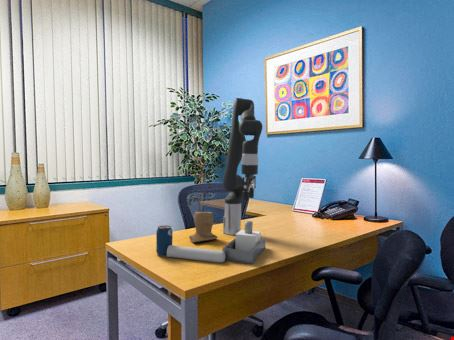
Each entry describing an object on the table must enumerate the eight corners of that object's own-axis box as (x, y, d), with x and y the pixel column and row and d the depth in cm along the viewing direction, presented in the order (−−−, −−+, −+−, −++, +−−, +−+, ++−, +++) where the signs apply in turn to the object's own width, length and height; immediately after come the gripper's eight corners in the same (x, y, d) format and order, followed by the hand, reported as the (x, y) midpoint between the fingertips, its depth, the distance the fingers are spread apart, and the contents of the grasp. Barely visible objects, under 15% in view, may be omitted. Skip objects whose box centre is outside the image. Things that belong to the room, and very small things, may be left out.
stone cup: (208, 235, 168) (208, 208, 167) (220, 240, 158) (221, 211, 158) (183, 239, 159) (183, 210, 158) (194, 245, 149) (195, 214, 149)
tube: (227, 251, 129) (172, 245, 135) (224, 250, 124) (167, 244, 130) (226, 264, 127) (170, 257, 133) (223, 264, 122) (165, 257, 128)
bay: (222, 260, 128) (222, 248, 128) (239, 244, 151) (239, 234, 151) (252, 264, 124) (252, 251, 124) (265, 247, 146) (265, 237, 146)
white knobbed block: (235, 249, 139) (235, 222, 139) (241, 244, 148) (241, 219, 147) (255, 251, 136) (256, 224, 135) (260, 246, 144) (261, 220, 144)
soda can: (175, 253, 135) (175, 226, 135) (162, 257, 130) (162, 229, 130) (165, 250, 140) (166, 224, 140) (153, 253, 135) (153, 226, 134)
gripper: (246, 163, 148) (245, 196, 149) (237, 163, 135) (236, 200, 135) (261, 163, 146) (260, 197, 146) (253, 164, 132) (252, 201, 133)
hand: (248, 199), depth 141 cm, fingers open, 8 cm apart
